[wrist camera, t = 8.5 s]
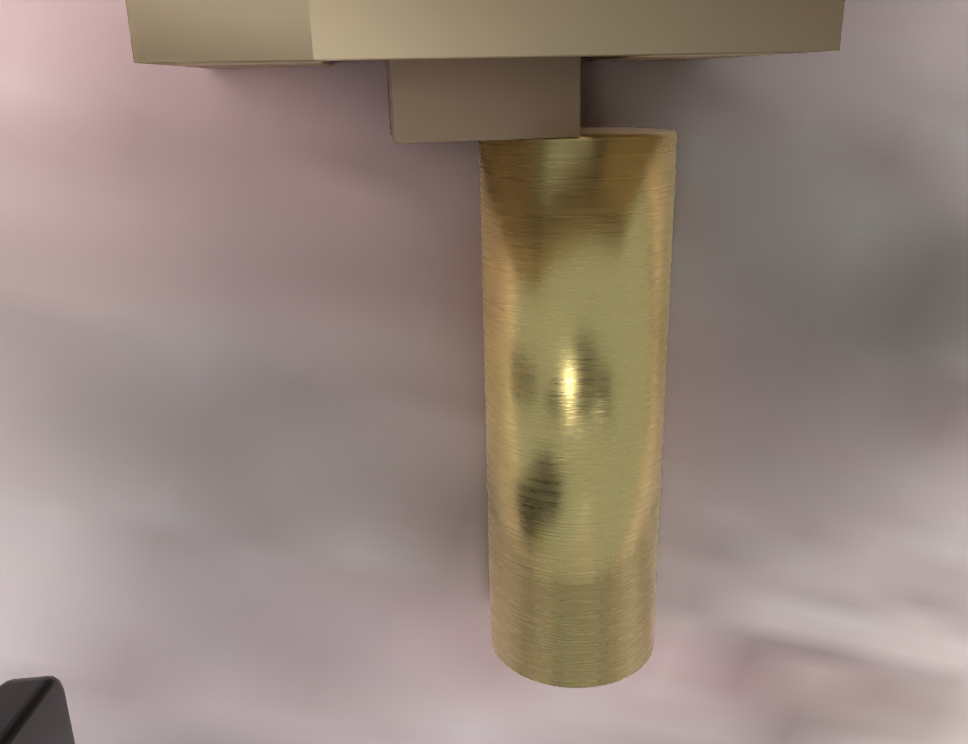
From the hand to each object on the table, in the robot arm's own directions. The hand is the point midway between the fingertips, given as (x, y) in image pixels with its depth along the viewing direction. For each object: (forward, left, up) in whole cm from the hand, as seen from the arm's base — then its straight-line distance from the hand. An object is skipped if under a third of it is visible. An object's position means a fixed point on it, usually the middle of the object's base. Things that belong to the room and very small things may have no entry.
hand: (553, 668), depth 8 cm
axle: (0, 0, -7) cm, 7 cm away
